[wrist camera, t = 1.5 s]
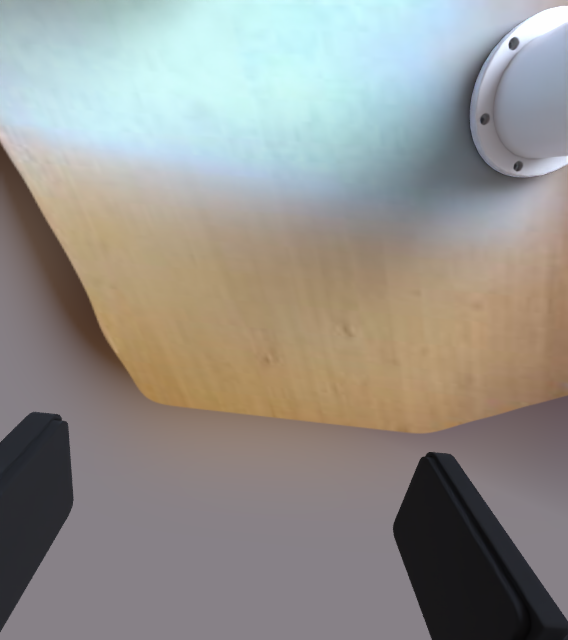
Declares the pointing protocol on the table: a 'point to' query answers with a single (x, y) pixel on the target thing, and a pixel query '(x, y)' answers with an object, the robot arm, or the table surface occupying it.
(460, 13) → the table surface
